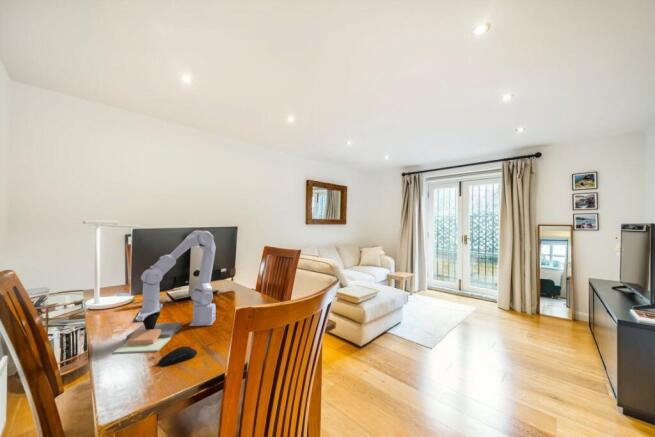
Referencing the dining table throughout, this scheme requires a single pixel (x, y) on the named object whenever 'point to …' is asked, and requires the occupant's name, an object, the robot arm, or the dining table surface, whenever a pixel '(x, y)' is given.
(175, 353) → the gaming mouse
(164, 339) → the mat
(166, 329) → the riser
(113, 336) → the dining table surface
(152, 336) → the tile
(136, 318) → the smartphone
